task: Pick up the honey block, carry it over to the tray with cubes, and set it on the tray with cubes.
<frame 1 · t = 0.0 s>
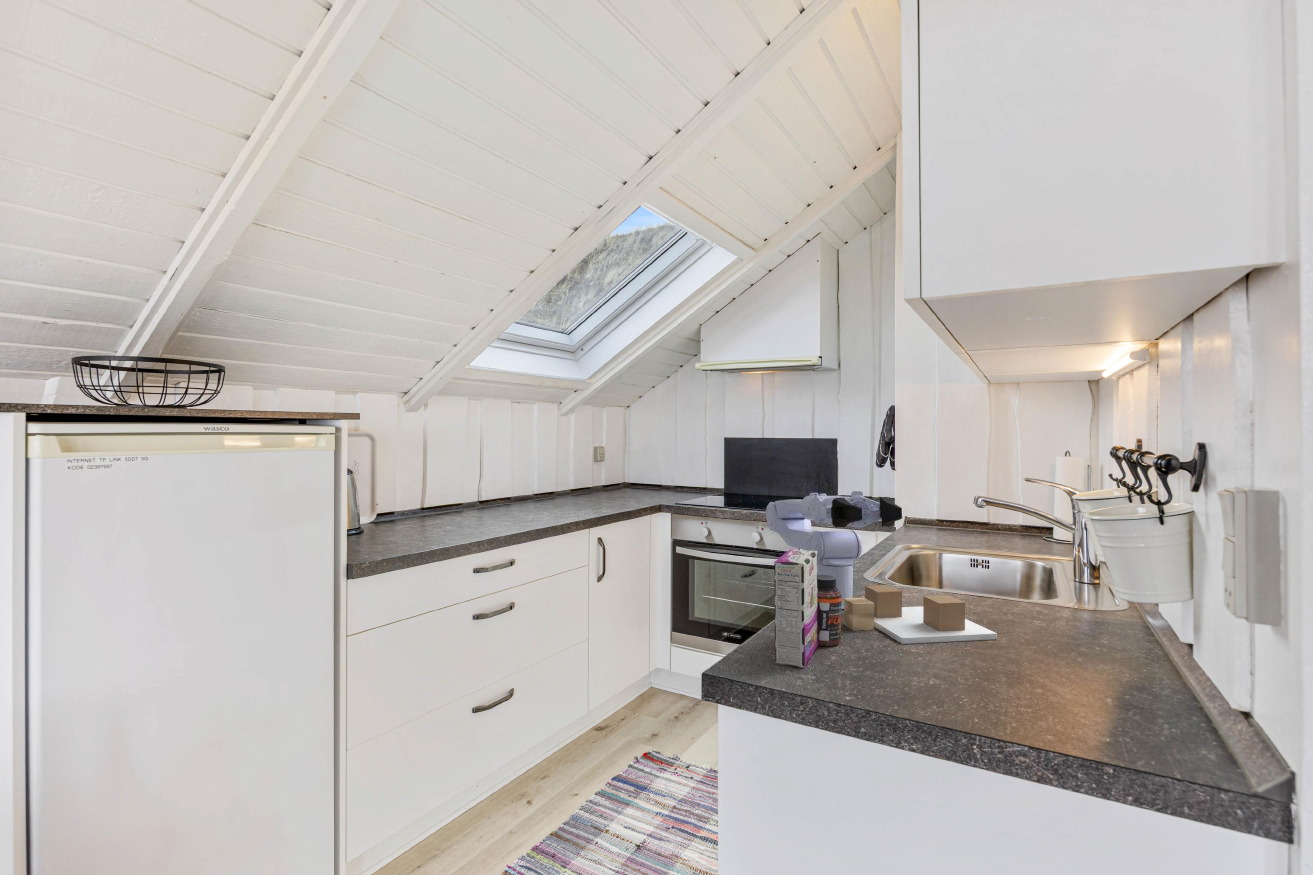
hand: (880, 513, 115), 22 cm above the countertop, tool horizontal, fingers open, 7 cm apart
tray with cubes: (921, 625, 120), on the countertop
candy bar box: (796, 656, 104), on the countertop
honey block: (858, 627, 119), on the countertop
supplement bottle: (823, 642, 111), on the countertop
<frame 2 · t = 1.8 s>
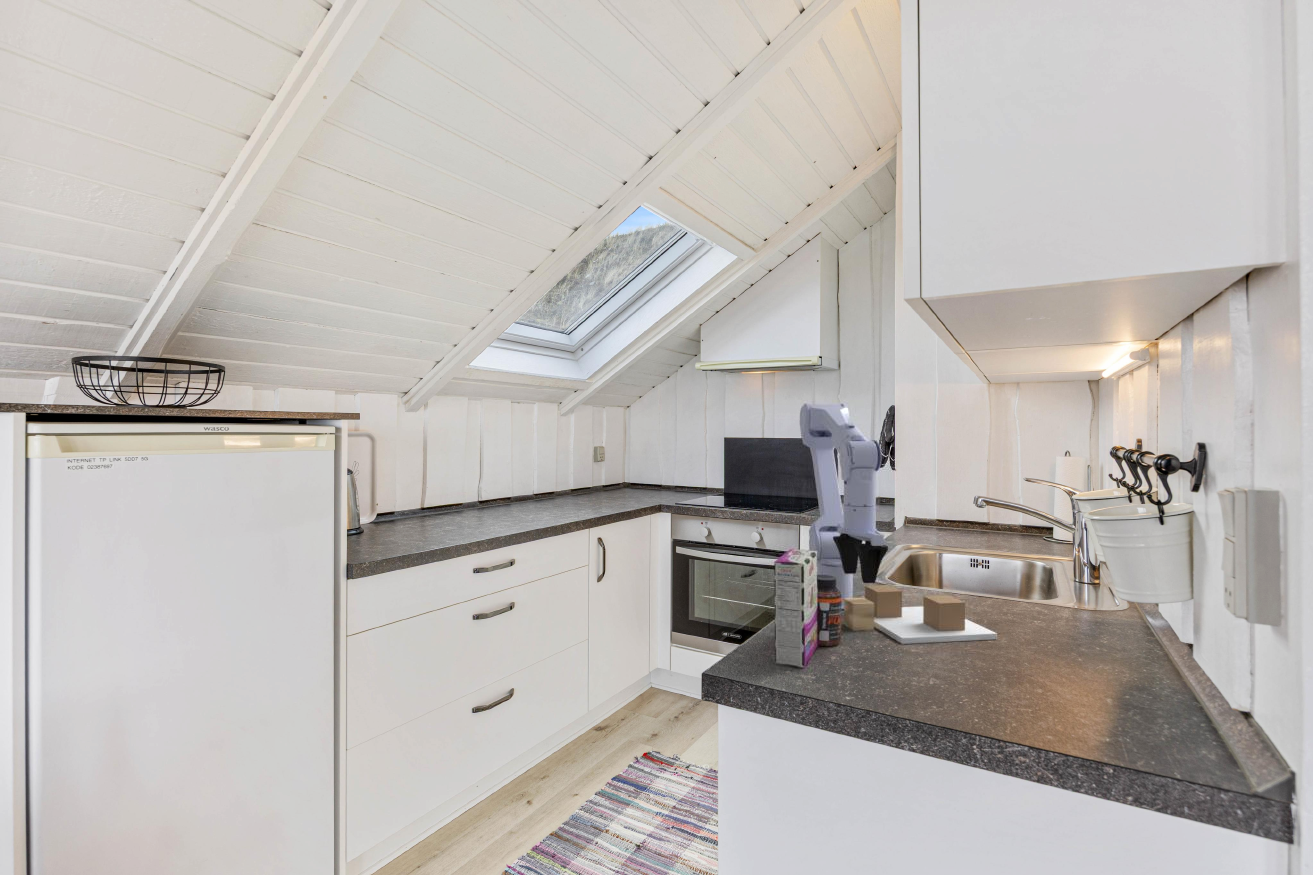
hand: (859, 577, 119), 9 cm above the countertop, tool pointing down, fingers open, 7 cm apart
nothing on the countertop moved.
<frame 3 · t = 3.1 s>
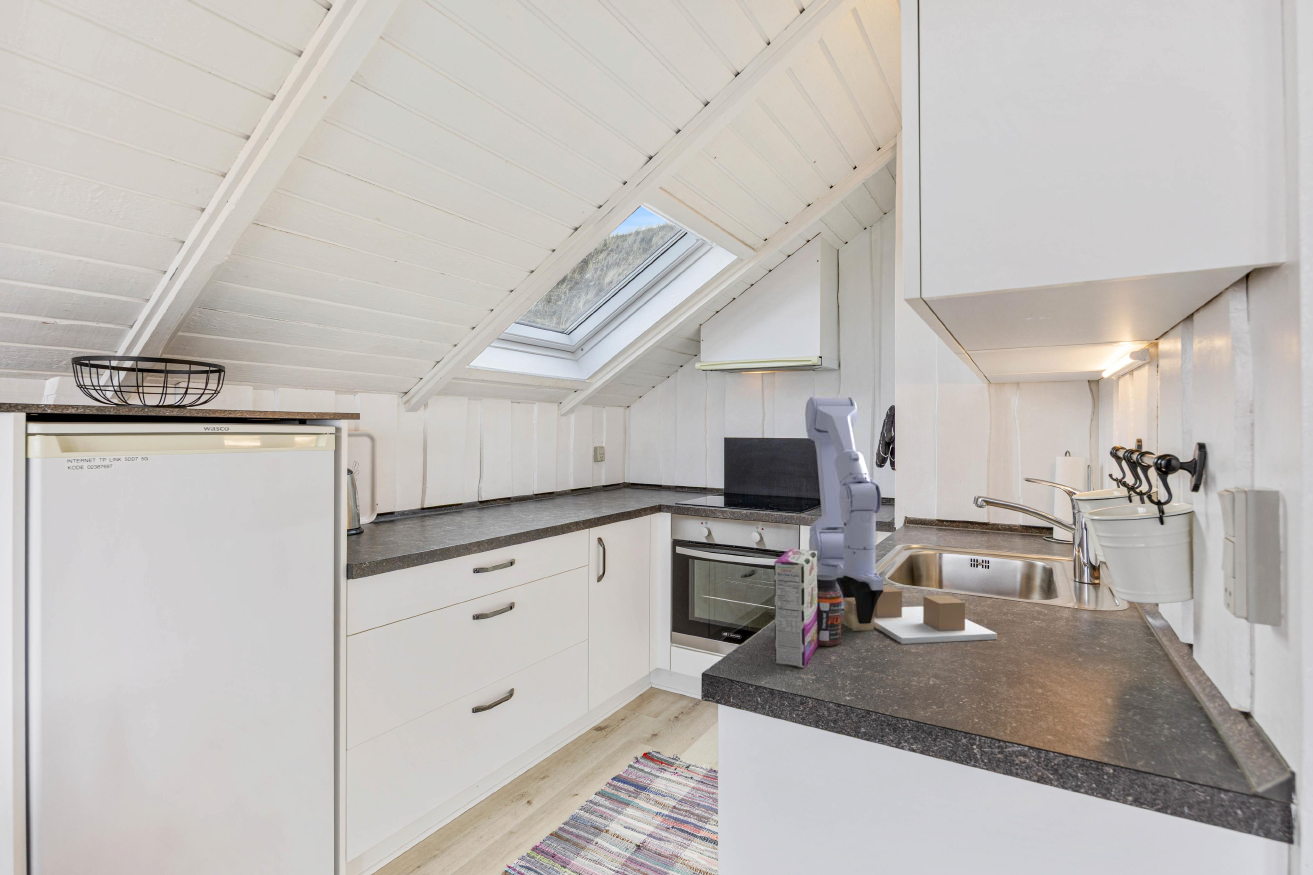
hand: (858, 619, 119), 1 cm above the countertop, tool pointing down, fingers closed on honey block, 4 cm apart
honey block: (858, 626, 119), on the countertop, touching gripper
everything else where it was.
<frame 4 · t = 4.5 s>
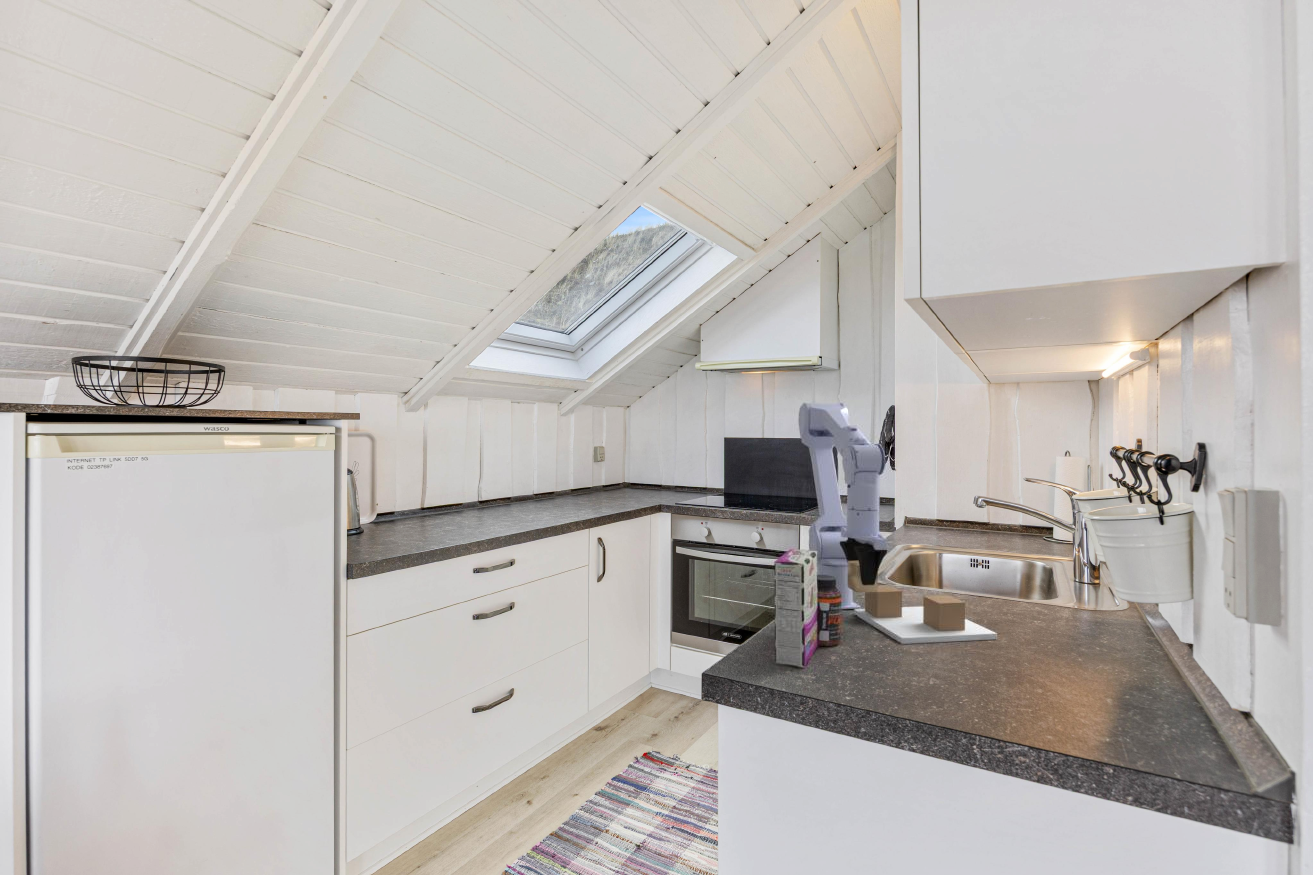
hand: (862, 581, 119), 8 cm above the countertop, tool pointing down, fingers closed on honey block, 4 cm apart
honey block: (862, 589, 119), point 7 cm above the countertop, touching gripper
everything else where it was.
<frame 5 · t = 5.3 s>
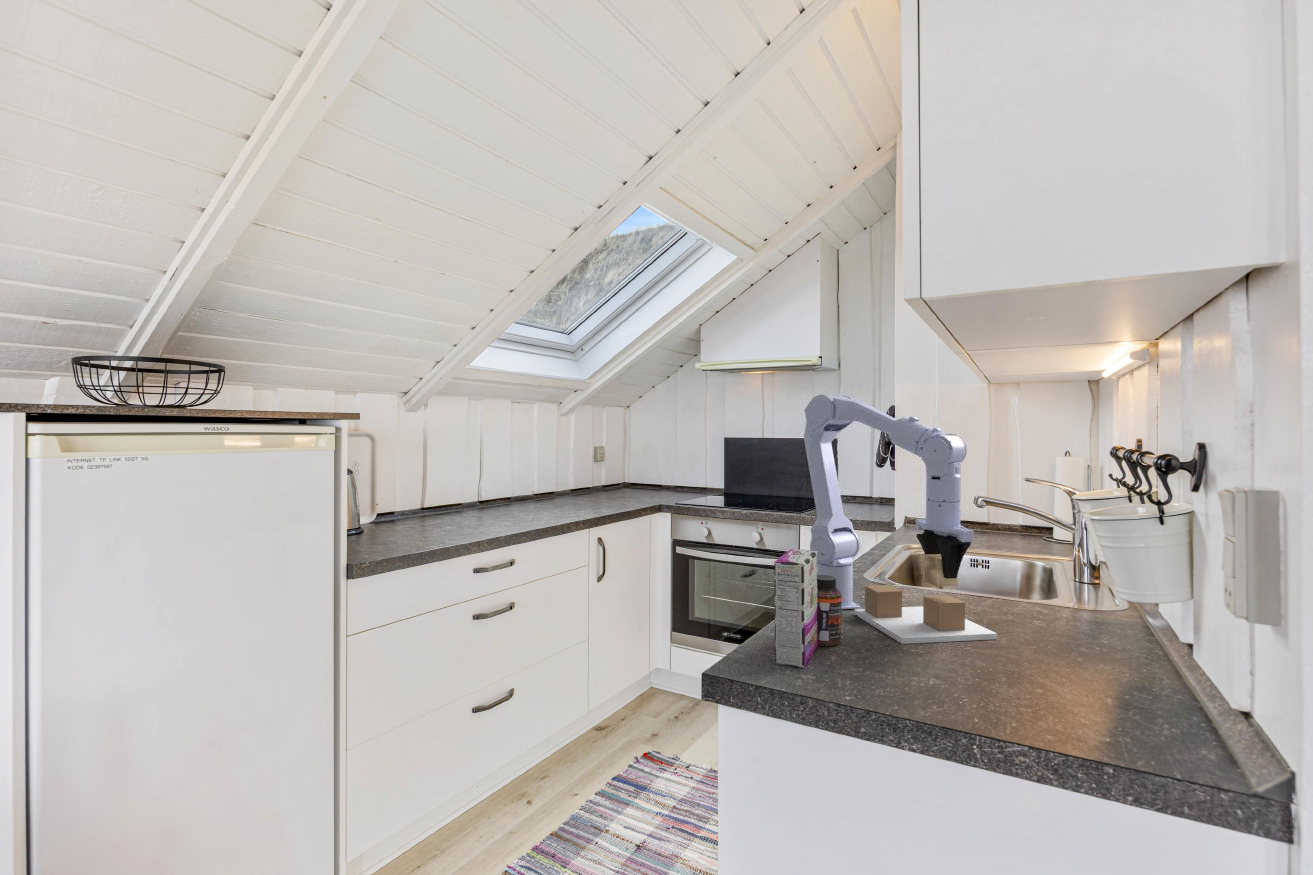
hand: (942, 575, 116), 10 cm above the countertop, tool pointing down, fingers closed on honey block, 4 cm apart
honey block: (940, 583, 116), point 9 cm above the countertop, touching gripper
everything else where it was.
when the fingers open (8 cm above the countertop, at t = 6.1 s): honey block stays where it is, resting on tray with cubes.
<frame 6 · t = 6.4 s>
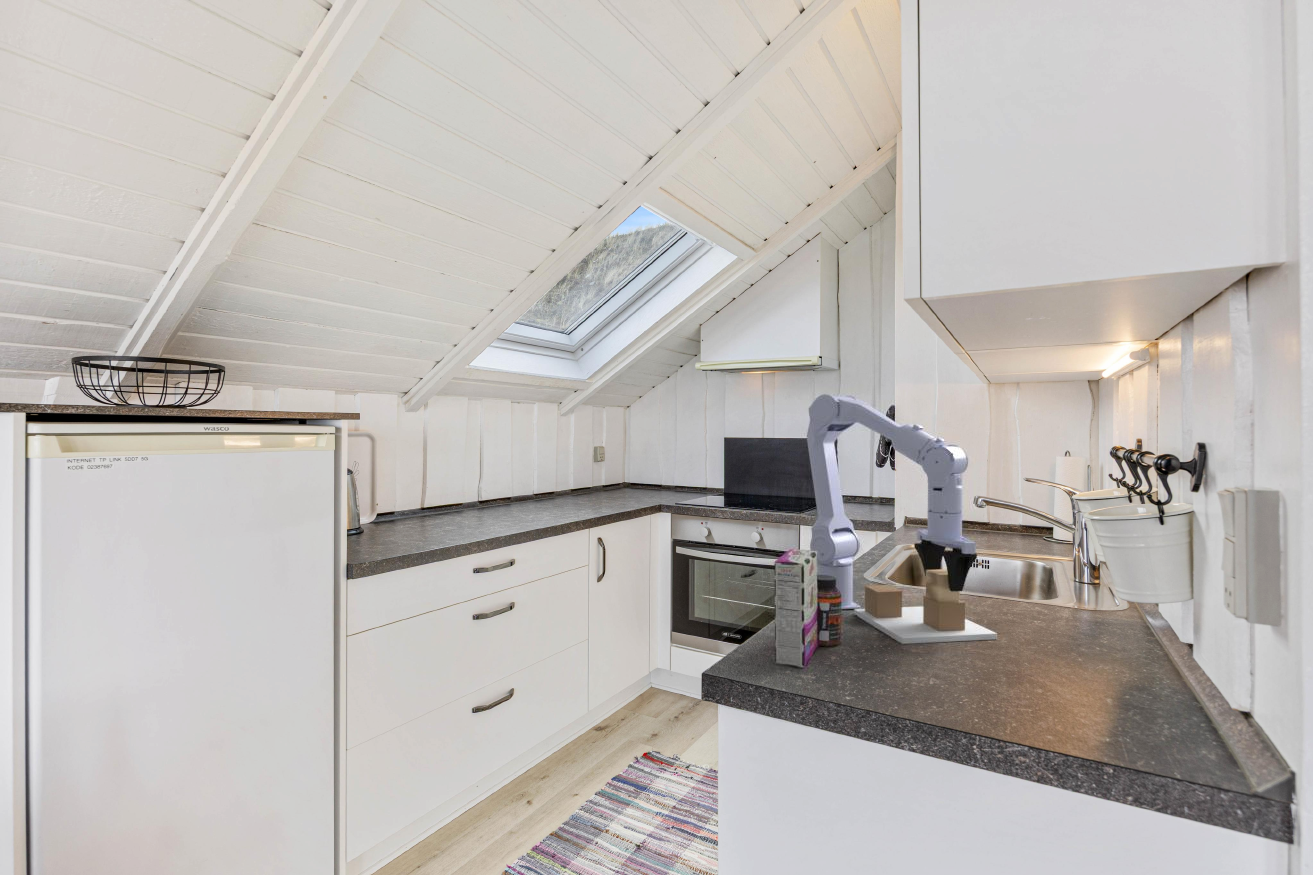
hand: (944, 586, 116), 8 cm above the countertop, tool pointing down, fingers open, 6 cm apart
honey block: (942, 599, 116), point 6 cm above the countertop, touching tray with cubes
everything else where it was.
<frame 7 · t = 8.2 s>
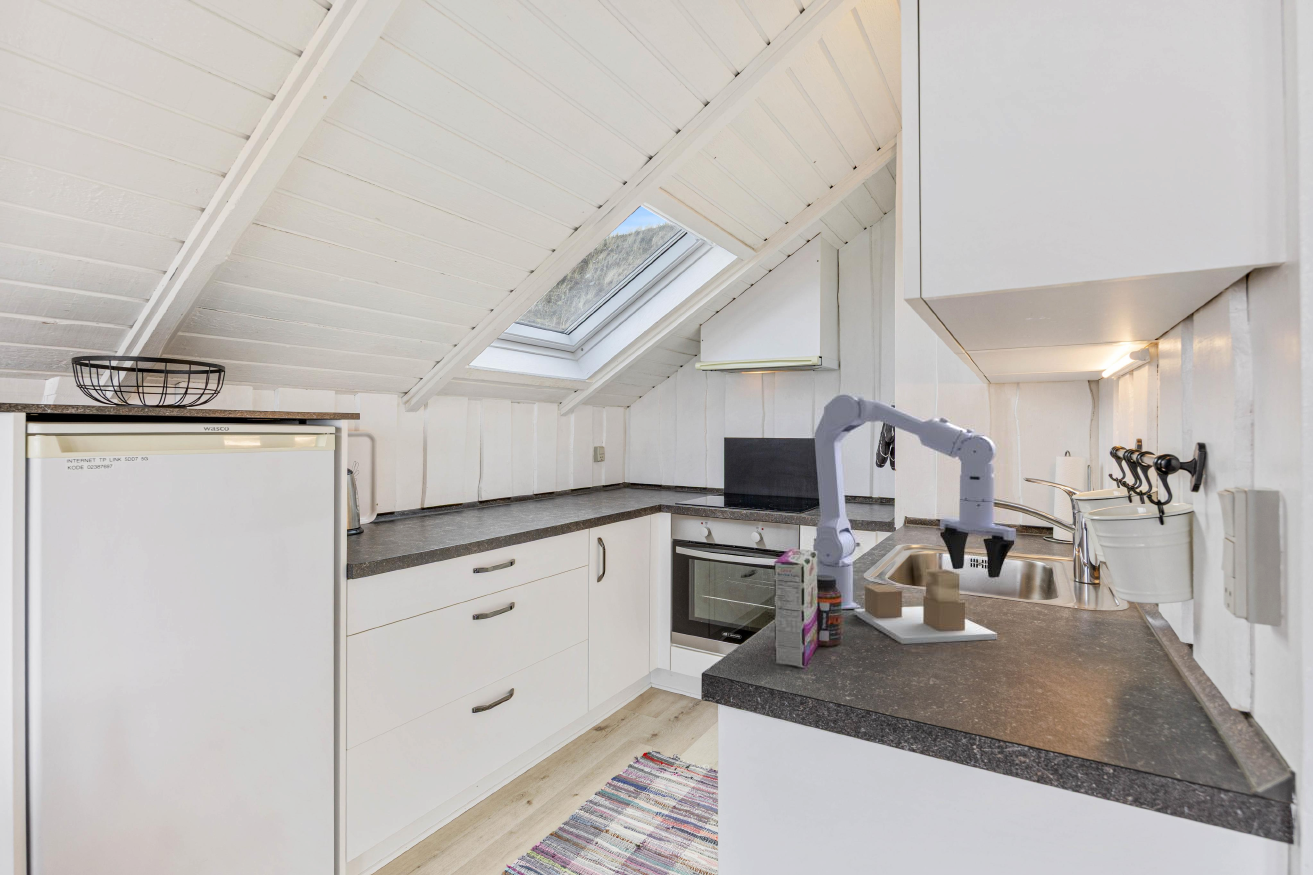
hand: (975, 572, 119), 10 cm above the countertop, tool pointing down, fingers open, 7 cm apart
nothing on the countertop moved.
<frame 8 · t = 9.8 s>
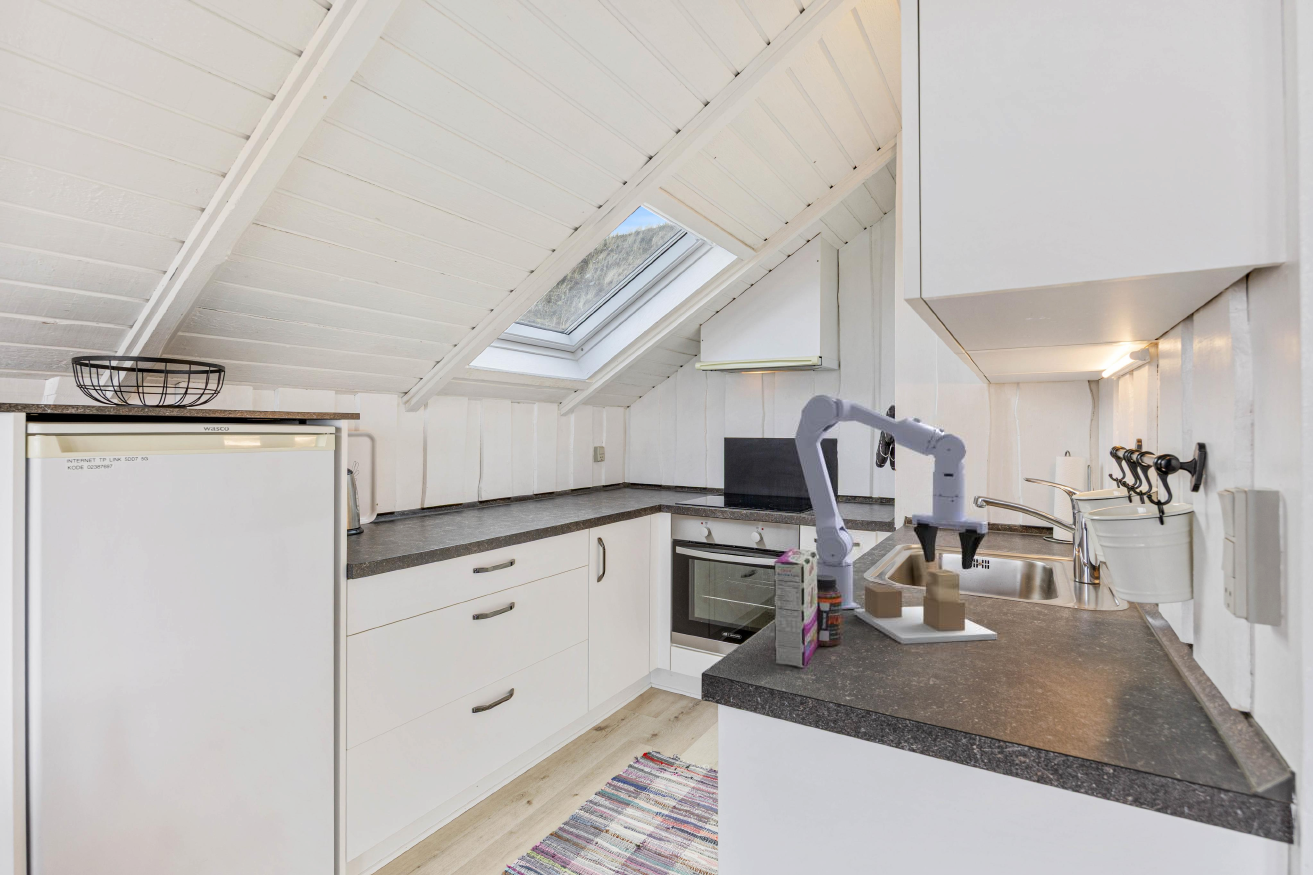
hand: (947, 565, 125), 10 cm above the countertop, tool pointing down, fingers open, 7 cm apart
nothing on the countertop moved.
at the end: honey block 0.3 cm from the target spot on the tray with cubes, point 6.0 cm above the tray with cubes's base; honey block tilted 0°; the gripper is holding nothing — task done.
